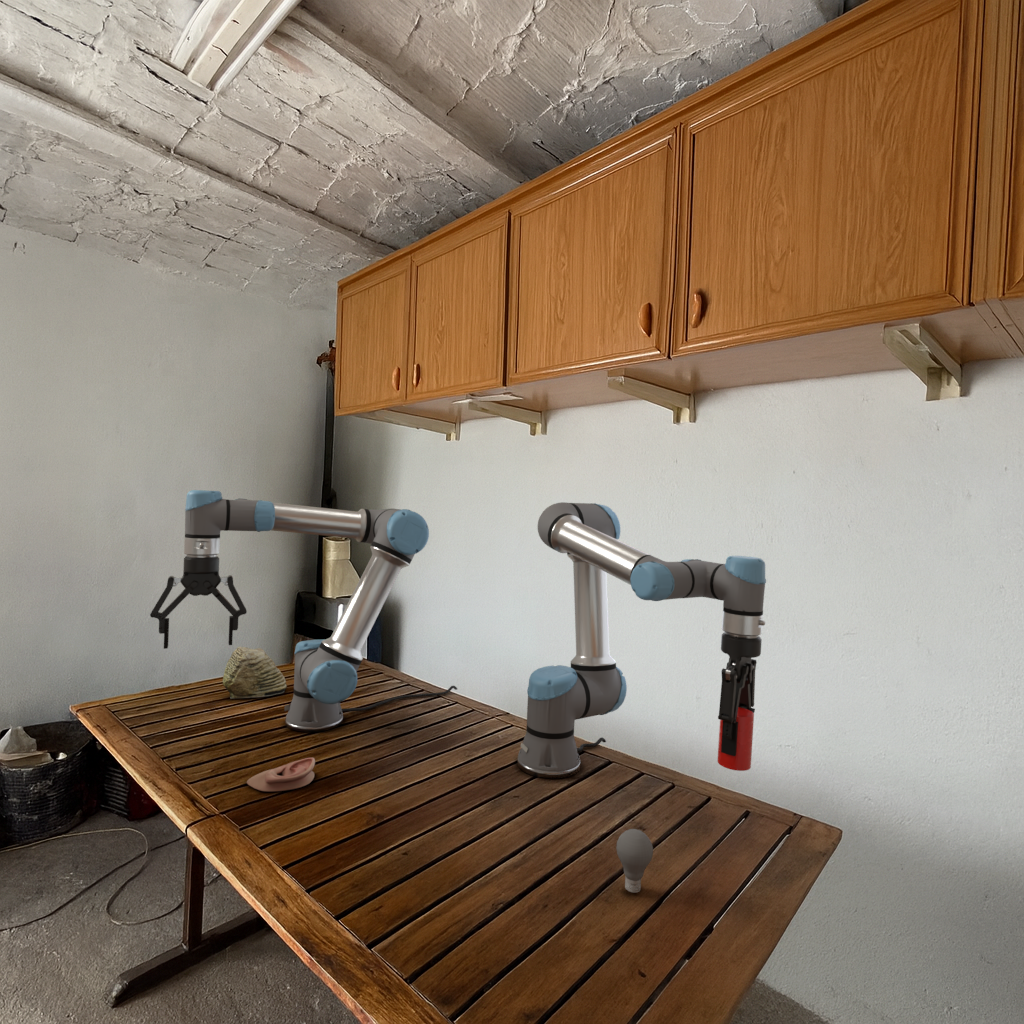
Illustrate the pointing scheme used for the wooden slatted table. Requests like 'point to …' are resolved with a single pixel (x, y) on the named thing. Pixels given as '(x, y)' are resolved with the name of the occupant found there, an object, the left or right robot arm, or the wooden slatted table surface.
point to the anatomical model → (284, 776)
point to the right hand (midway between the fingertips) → (734, 748)
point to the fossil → (252, 674)
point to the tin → (739, 743)
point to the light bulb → (634, 857)
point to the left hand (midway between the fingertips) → (198, 645)
